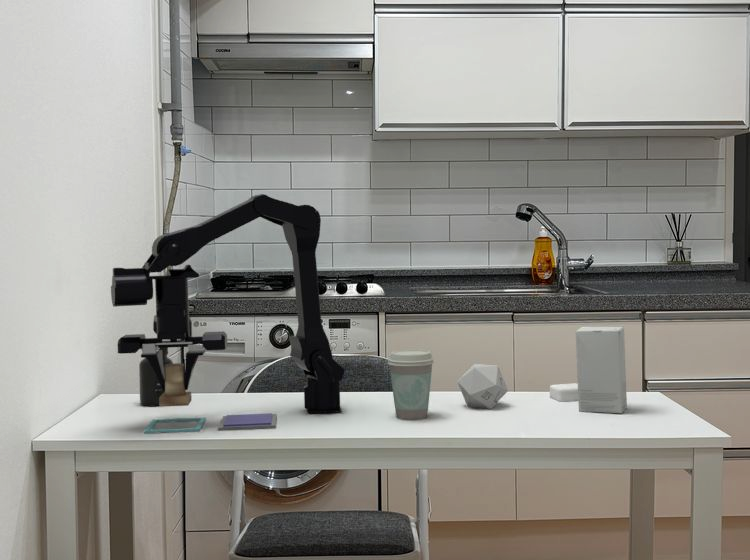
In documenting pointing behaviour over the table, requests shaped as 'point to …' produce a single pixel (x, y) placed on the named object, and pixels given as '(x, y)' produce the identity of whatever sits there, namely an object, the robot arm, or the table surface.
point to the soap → (564, 392)
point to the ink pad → (248, 421)
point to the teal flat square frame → (198, 428)
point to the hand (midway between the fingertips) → (175, 390)
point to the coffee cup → (411, 382)
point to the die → (482, 386)
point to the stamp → (174, 386)
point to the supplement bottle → (151, 381)
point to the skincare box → (601, 369)
